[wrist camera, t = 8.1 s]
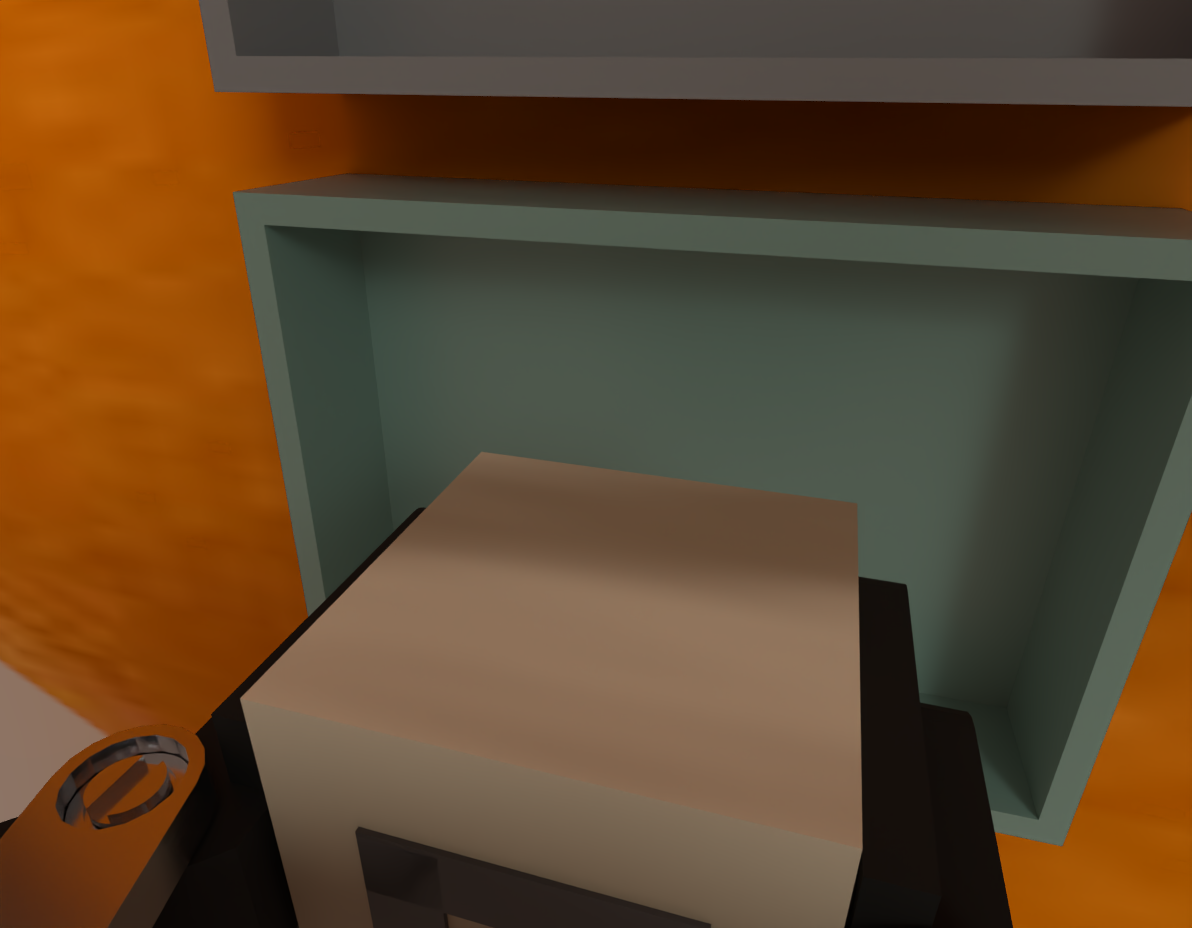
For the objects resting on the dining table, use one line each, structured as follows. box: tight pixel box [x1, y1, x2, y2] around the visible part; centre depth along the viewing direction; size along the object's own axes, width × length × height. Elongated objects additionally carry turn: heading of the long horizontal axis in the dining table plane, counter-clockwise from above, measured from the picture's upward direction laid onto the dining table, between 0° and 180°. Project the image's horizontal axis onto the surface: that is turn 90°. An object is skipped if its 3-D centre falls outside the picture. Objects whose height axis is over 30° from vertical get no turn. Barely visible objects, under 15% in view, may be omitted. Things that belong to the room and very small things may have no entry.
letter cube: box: [240, 452, 863, 928], centre depth 8 cm, size 4×4×4 cm
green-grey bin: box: [233, 174, 1192, 846], centre depth 15 cm, size 10×15×4 cm
